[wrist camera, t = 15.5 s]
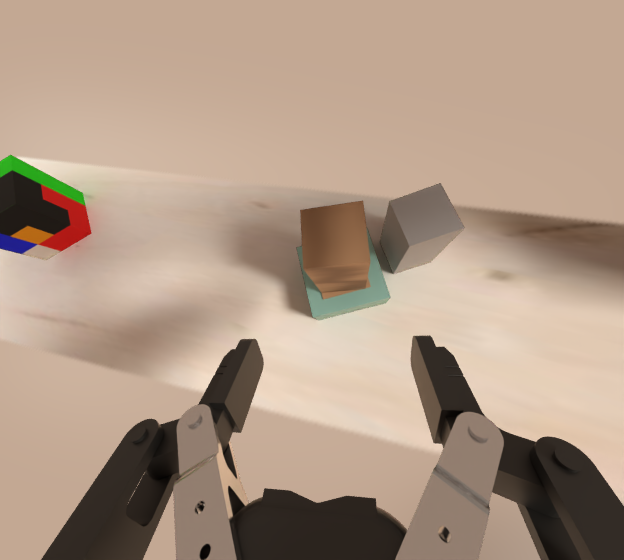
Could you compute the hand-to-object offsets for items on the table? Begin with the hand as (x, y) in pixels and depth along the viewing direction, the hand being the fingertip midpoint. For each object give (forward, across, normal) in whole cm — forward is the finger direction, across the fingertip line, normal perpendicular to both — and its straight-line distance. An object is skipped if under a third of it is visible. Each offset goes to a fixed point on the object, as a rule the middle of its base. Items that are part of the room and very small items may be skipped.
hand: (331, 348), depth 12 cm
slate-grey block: (+22, -8, +5) cm, 24 cm away
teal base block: (+19, 0, +8) cm, 21 cm away
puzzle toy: (+29, +52, -2) cm, 59 cm away
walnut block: (+16, 0, +4) cm, 16 cm away
